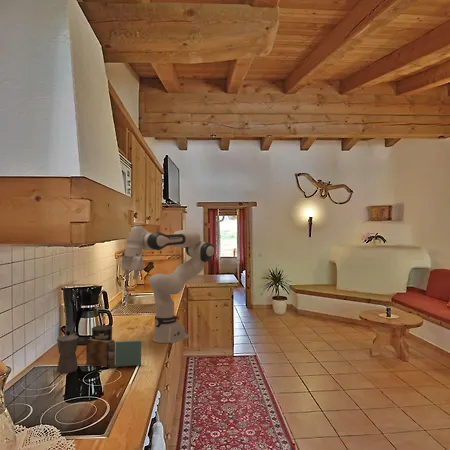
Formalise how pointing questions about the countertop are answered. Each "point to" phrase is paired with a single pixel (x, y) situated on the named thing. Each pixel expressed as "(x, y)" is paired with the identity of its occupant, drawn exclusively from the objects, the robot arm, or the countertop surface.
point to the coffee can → (102, 332)
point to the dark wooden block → (99, 353)
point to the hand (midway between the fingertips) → (130, 279)
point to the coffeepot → (67, 353)
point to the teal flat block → (126, 353)
